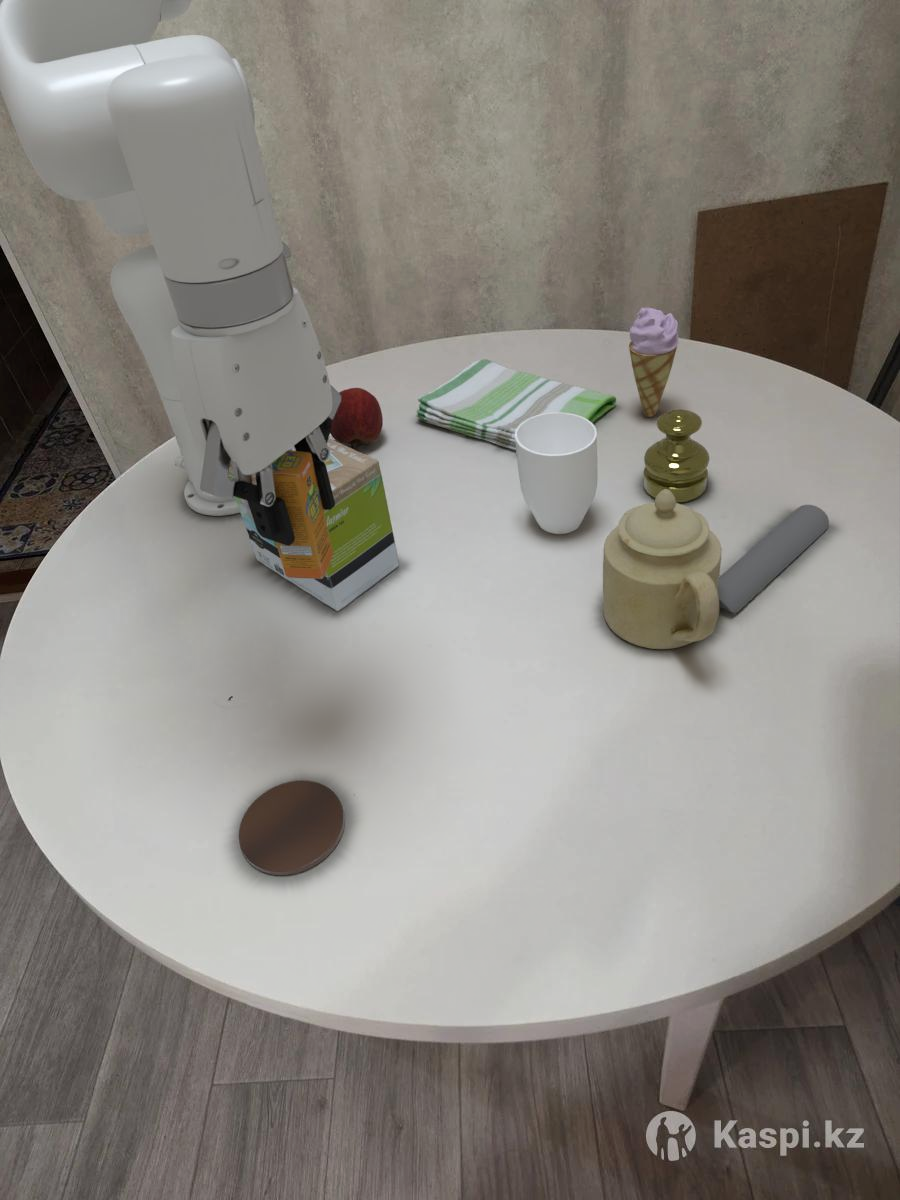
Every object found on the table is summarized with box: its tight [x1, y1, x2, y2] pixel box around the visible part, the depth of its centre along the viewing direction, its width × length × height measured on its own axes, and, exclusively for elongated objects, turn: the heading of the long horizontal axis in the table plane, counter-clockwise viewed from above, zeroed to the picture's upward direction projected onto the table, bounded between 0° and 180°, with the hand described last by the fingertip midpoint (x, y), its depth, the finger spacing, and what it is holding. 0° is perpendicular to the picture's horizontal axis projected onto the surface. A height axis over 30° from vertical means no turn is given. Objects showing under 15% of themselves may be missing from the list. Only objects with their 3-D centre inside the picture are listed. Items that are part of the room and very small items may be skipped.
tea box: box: [229, 437, 400, 612], centre depth 95 cm, size 15×10×15 cm, turn 47°
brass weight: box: [643, 408, 710, 504], centre depth 100 cm, size 7×7×10 cm
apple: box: [330, 387, 384, 449], centre depth 117 cm, size 7×8×8 cm
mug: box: [515, 412, 598, 535], centre depth 98 cm, size 12×9×12 cm
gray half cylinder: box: [717, 504, 830, 614], centre depth 91 cm, size 4×20×2 cm, turn 134°
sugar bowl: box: [602, 489, 723, 650], centre depth 82 cm, size 15×11×15 cm
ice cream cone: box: [628, 307, 679, 418], centre depth 112 cm, size 7×6×15 cm
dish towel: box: [415, 358, 617, 451], centre depth 119 cm, size 17×23×4 cm
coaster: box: [238, 779, 346, 876], centre depth 73 cm, size 9×9×1 cm
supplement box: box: [272, 451, 333, 579], centre depth 66 cm, size 3×3×10 cm
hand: (297, 519), depth 66 cm, fingers closed on supplement box, 4 cm apart
